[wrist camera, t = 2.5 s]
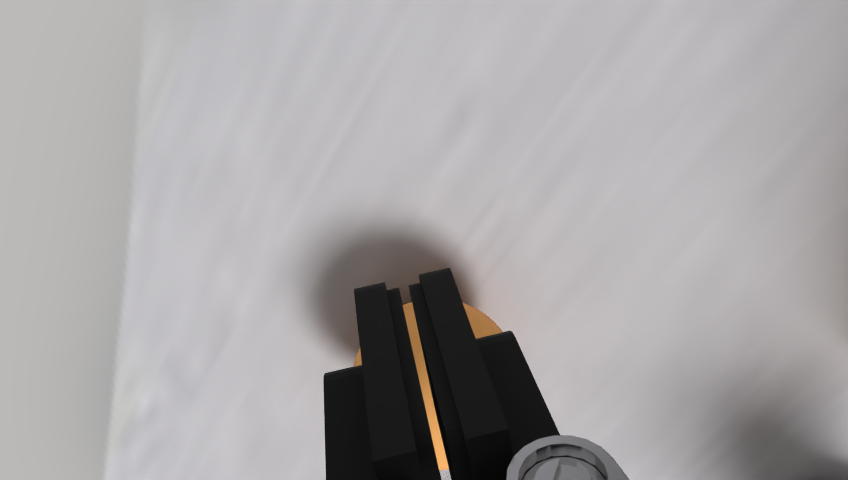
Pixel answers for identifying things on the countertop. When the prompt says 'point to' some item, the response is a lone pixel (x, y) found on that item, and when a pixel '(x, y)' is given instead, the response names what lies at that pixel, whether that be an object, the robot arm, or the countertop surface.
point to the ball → (480, 329)
